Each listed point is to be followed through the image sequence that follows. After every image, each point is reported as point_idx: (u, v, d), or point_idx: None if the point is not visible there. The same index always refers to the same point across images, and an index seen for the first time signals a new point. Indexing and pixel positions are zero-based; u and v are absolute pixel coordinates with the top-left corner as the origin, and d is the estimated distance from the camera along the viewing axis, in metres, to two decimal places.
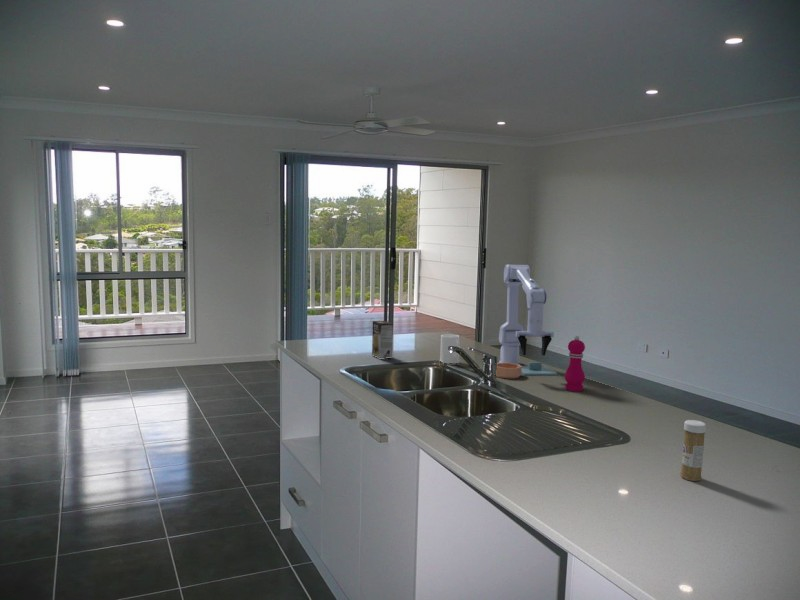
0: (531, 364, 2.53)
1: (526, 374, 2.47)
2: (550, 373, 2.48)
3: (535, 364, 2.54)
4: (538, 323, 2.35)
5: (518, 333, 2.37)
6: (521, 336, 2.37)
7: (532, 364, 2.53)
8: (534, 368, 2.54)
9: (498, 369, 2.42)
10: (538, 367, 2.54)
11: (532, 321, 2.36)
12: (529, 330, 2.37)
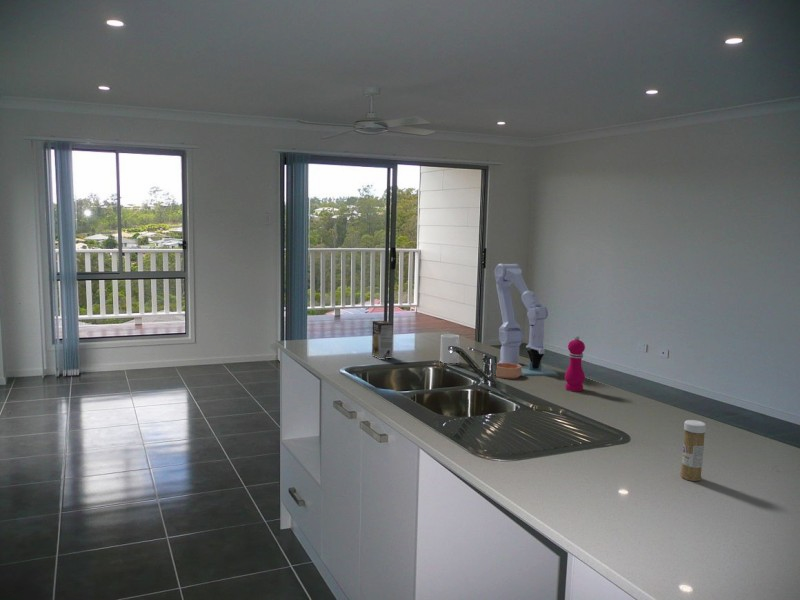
0: (531, 364, 2.53)
1: (526, 374, 2.47)
2: (550, 373, 2.48)
3: None
4: (530, 337, 2.52)
5: (528, 344, 2.60)
6: None
7: None
8: None
9: (498, 369, 2.42)
10: None
11: None
12: None
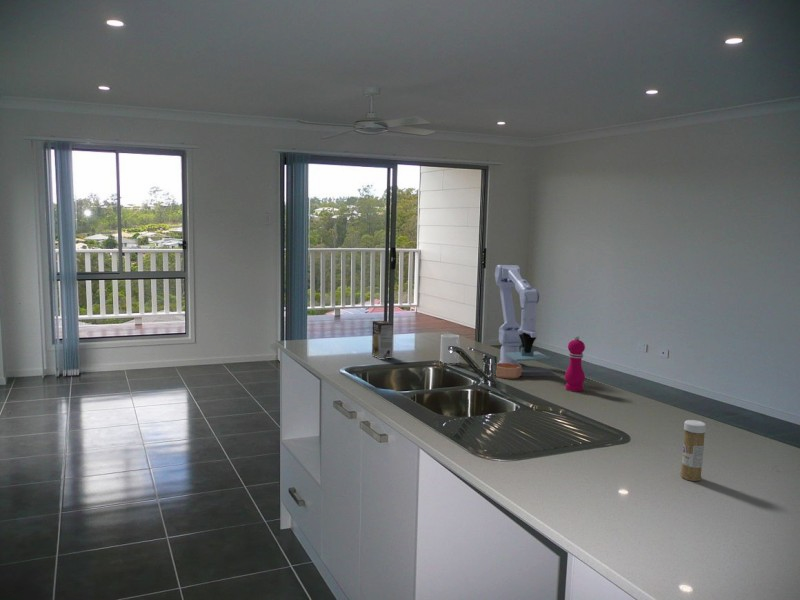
0: (523, 349, 2.50)
1: (518, 360, 2.43)
2: (543, 358, 2.45)
3: None
4: (522, 321, 2.48)
5: (519, 328, 2.56)
6: None
7: None
8: (526, 353, 2.50)
9: (498, 369, 2.42)
10: (530, 352, 2.50)
11: None
12: None
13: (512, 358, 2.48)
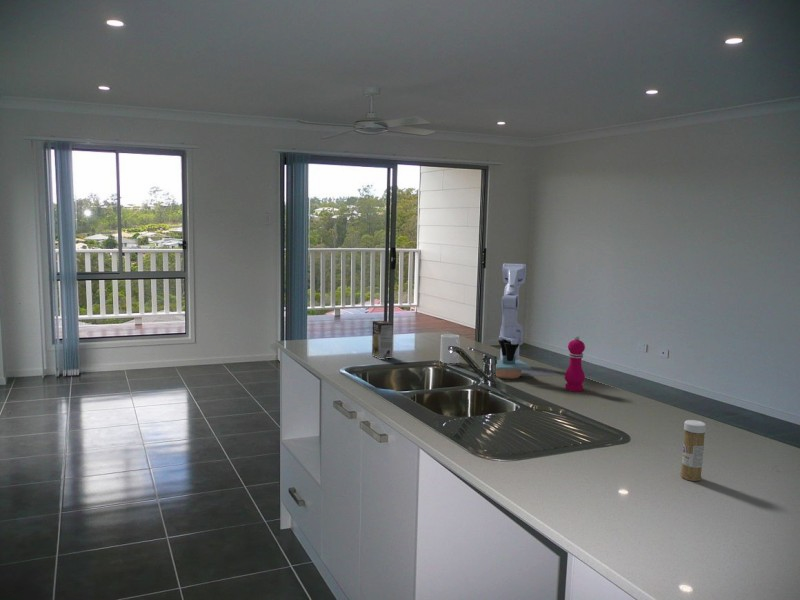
0: (505, 358, 2.44)
1: (499, 368, 2.38)
2: (524, 367, 2.39)
3: None
4: (502, 327, 2.43)
5: (501, 335, 2.51)
6: (502, 338, 2.49)
7: (506, 358, 2.44)
8: (508, 362, 2.45)
9: (498, 369, 2.42)
10: (512, 361, 2.45)
11: None
12: None
13: None
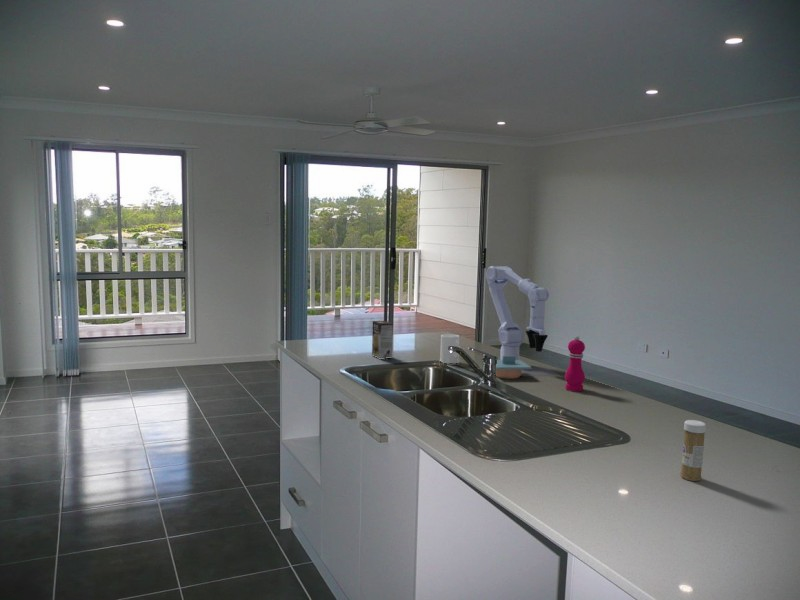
0: (505, 358, 2.44)
1: (499, 368, 2.38)
2: (524, 367, 2.39)
3: (509, 358, 2.44)
4: (531, 319, 2.52)
5: (529, 326, 2.60)
6: (530, 329, 2.59)
7: (506, 358, 2.44)
8: (508, 362, 2.45)
9: (498, 369, 2.42)
10: (512, 361, 2.45)
11: None
12: None
13: None
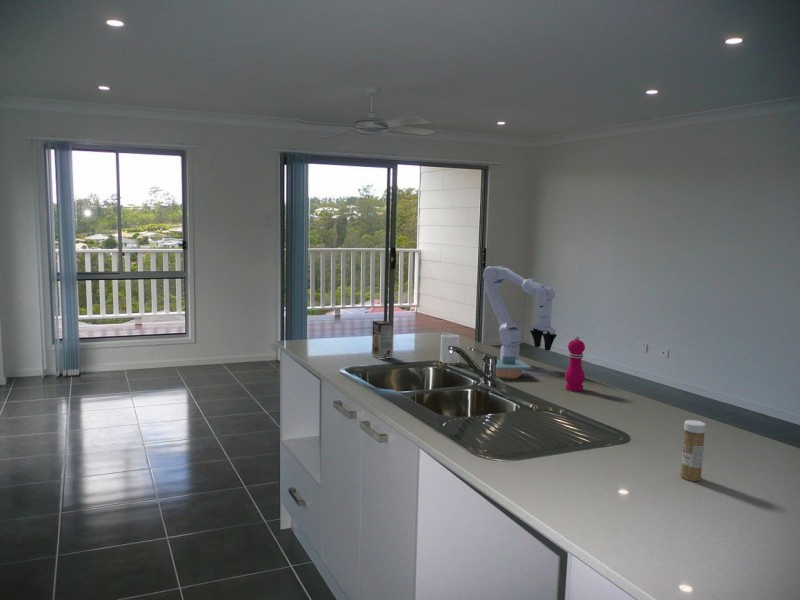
0: (505, 358, 2.44)
1: (499, 368, 2.38)
2: (524, 367, 2.39)
3: (509, 358, 2.44)
4: (538, 318, 2.54)
5: (532, 326, 2.62)
6: (534, 329, 2.61)
7: (506, 358, 2.44)
8: (508, 362, 2.45)
9: (498, 369, 2.42)
10: (512, 361, 2.45)
11: (537, 316, 2.57)
12: None
13: None
